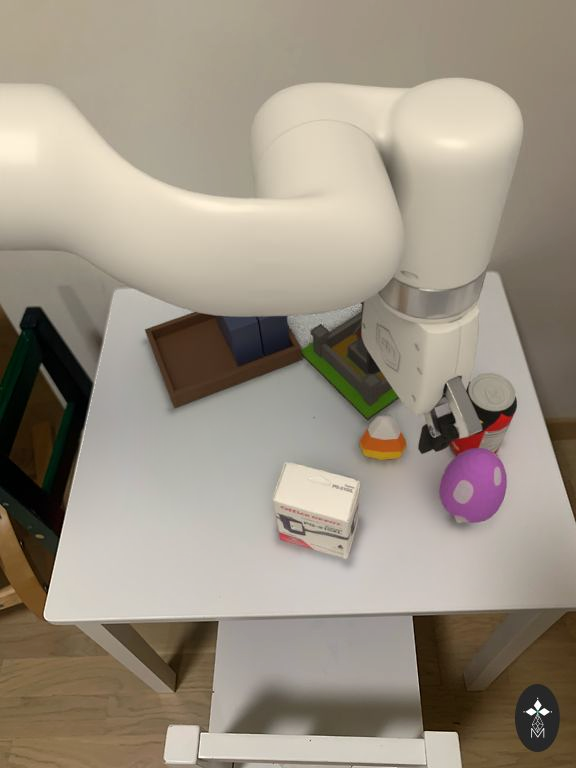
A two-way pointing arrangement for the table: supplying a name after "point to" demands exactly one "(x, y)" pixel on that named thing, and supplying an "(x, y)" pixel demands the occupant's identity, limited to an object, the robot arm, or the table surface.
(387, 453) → the candy corn
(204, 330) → the tray
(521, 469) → the table surface
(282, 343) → the matching cartons
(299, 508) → the ink box
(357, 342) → the castle model
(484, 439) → the beverage can
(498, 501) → the toy
